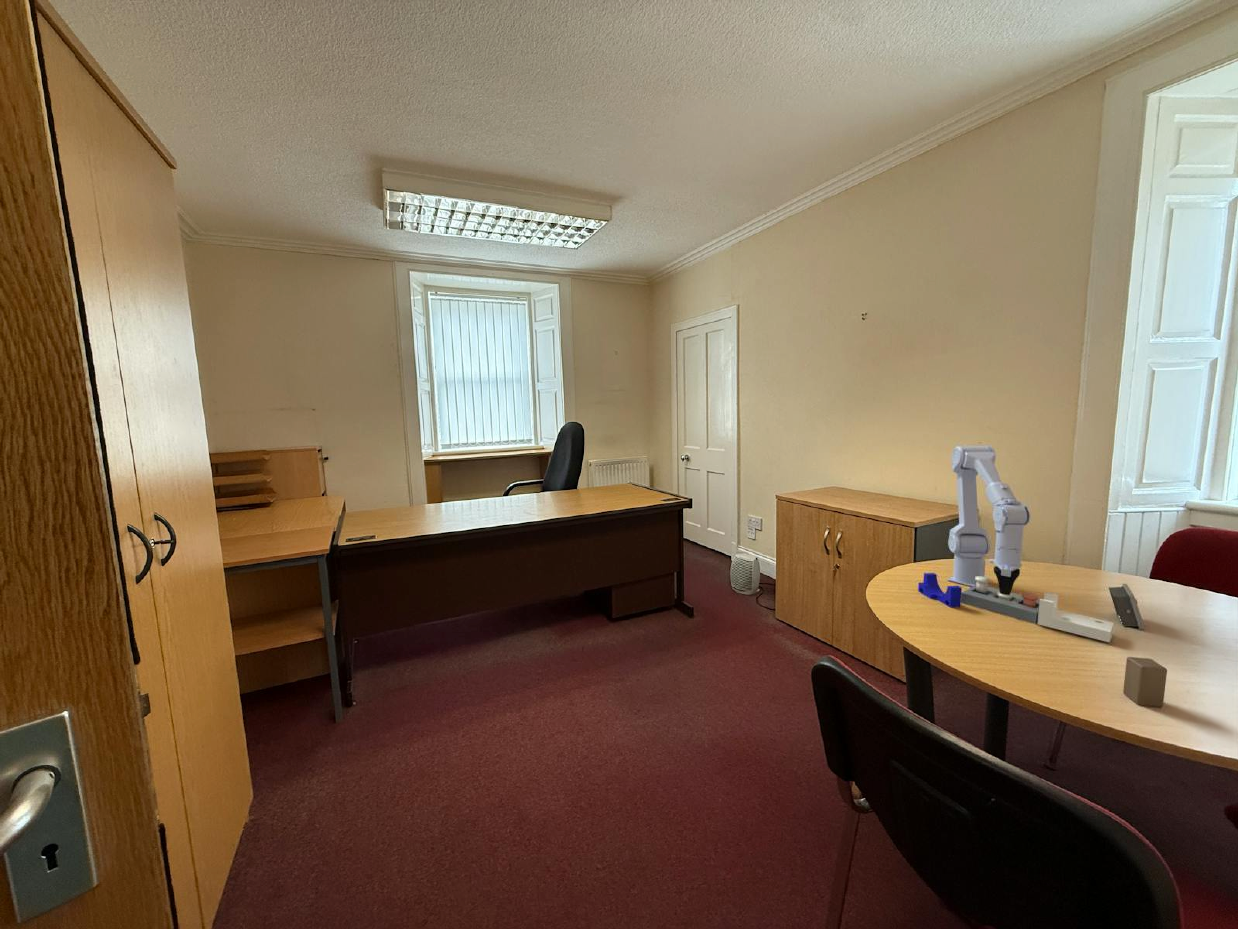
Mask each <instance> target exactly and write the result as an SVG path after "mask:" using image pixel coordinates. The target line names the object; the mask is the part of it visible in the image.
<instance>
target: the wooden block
mask: <svg viewBox="0 0 1238 929" xmlns="http://www.w3.org/2000/svg"><path fill="white" fill-rule="evenodd" d="M1167 674H1168V669H1167V668H1166V667H1165V666H1163V665H1162V664H1160V663H1159V662H1157V661H1155V660H1154V659H1152V658H1148V657H1147V658H1145V657H1137V656H1136V657H1133V656H1128V657H1126V663H1125V671H1124V681H1123V690H1122V692H1123V695H1125V696H1126V697H1128V699H1130V700H1131V701H1133V703H1135V704H1136V705H1139V706H1146V707H1156V708H1163V706H1164V701H1165V694H1166V693H1165V691H1166V682H1167V677H1168V676H1167Z"/></svg>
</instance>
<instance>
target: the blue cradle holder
mask: <svg viewBox="0 0 1238 929" xmlns="http://www.w3.org/2000/svg"><path fill="white" fill-rule="evenodd" d="M917 590H918V592H919V593H920V594H922V595H923V596H925V597H927V598H928V599H929V600H937V601H938V602H940V603H941V604H943V605H946V606H947V607H948V608H952V609H953V608H961V606H962V603H961V593H962V592H963V591H962V586H959V585H947V587H946V591H945V592H944V591H943V590H942V588H941V587H940V584H939V581H938V574H937V573H935V572H924V573H923V582H918V588H917Z"/></svg>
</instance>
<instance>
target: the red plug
mask: <svg viewBox="0 0 1238 929" xmlns="http://www.w3.org/2000/svg"><path fill="white" fill-rule="evenodd" d="M1021 595H1022V597H1023V605H1025V606H1029V607H1033V608H1036V600H1038V599H1039V595H1037V594H1036V593H1032V592H1021Z"/></svg>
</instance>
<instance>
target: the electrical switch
mask: <svg viewBox="0 0 1238 929" xmlns="http://www.w3.org/2000/svg"><path fill="white" fill-rule="evenodd" d="M1121 584H1122V586H1115V587H1113V586H1112V587H1108V590H1109V594H1110V598H1111V599H1112V603H1113V607H1114V610H1115V614H1116V616H1117V617H1118V616H1120V619H1121V621H1120V623H1121V622H1122V623H1121V626H1122V627H1137V628H1138V627H1139V628H1138V629H1139V630H1145V625H1144V622H1143V619H1142V615H1141V612H1140V608H1139V606H1138V605H1139V604H1138V599H1136V597H1135V595H1134V593H1133V591H1132V590H1131V588H1130V586H1129V585H1128V584H1127V583H1121Z"/></svg>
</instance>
